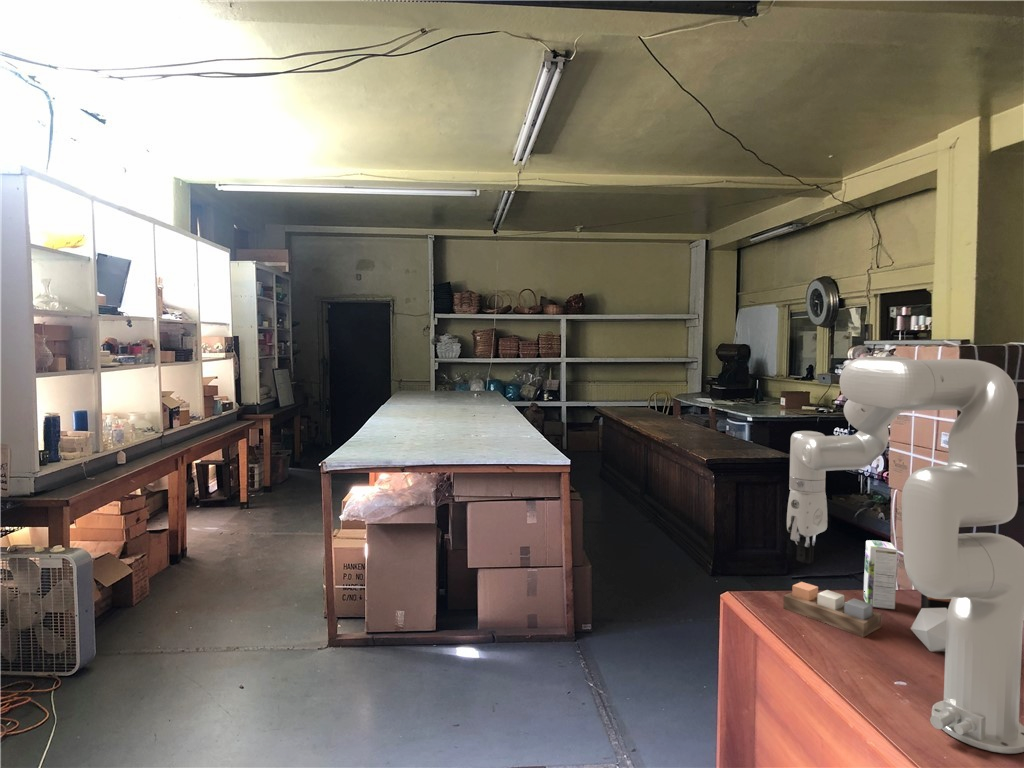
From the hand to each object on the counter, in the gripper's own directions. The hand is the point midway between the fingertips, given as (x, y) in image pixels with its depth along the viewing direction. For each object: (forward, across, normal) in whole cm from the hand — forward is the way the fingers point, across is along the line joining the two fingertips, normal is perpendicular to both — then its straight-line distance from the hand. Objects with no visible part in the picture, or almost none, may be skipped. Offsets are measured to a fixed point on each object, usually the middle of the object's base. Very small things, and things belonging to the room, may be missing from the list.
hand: (804, 561), depth 143 cm
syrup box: (+11, +16, -10) cm, 22 cm away
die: (+11, +3, -26) cm, 29 cm away
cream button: (+9, 0, -7) cm, 11 cm away
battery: (+11, +18, -21) cm, 29 cm away
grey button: (+9, 0, -13) cm, 15 cm away
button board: (+11, 0, -7) cm, 13 cm away
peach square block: (+9, 0, -1) cm, 9 cm away
